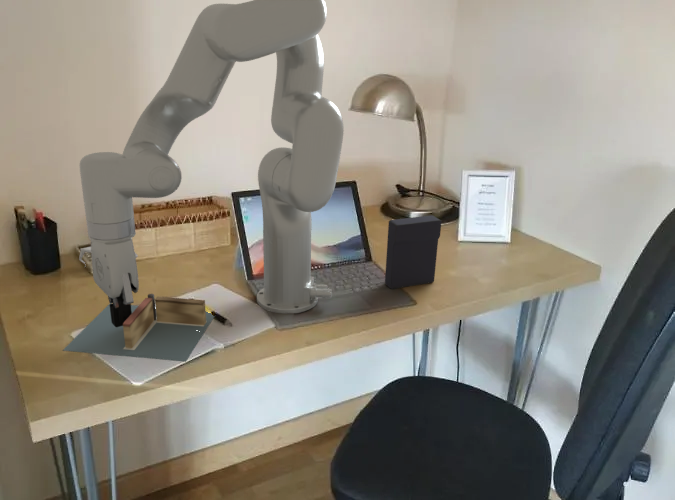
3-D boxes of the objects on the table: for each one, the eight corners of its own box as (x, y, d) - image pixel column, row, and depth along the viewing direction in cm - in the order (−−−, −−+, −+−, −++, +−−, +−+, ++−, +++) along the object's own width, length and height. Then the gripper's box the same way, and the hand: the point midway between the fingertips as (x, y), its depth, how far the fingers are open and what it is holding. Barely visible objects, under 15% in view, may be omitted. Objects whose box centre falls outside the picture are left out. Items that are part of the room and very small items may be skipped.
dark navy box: (425, 275, 141) (431, 213, 135) (435, 283, 137) (441, 220, 132) (382, 282, 137) (386, 218, 131) (391, 290, 133) (396, 225, 128)
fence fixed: (206, 322, 117) (204, 297, 115) (204, 325, 116) (202, 300, 114) (151, 317, 118) (149, 293, 116) (148, 320, 117) (146, 296, 115)
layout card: (217, 313, 121) (217, 311, 121) (186, 363, 105) (185, 360, 105) (110, 305, 124) (109, 303, 123) (62, 352, 107) (62, 350, 107)
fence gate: (147, 320, 117) (145, 297, 115) (154, 320, 117) (151, 298, 115) (125, 347, 108) (122, 323, 106) (132, 348, 107) (129, 324, 106)
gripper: (74, 219, 107) (87, 313, 114) (104, 245, 96) (116, 347, 103) (117, 211, 111) (127, 302, 118) (150, 236, 100) (159, 334, 107)
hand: (122, 323), depth 111 cm, fingers closed
